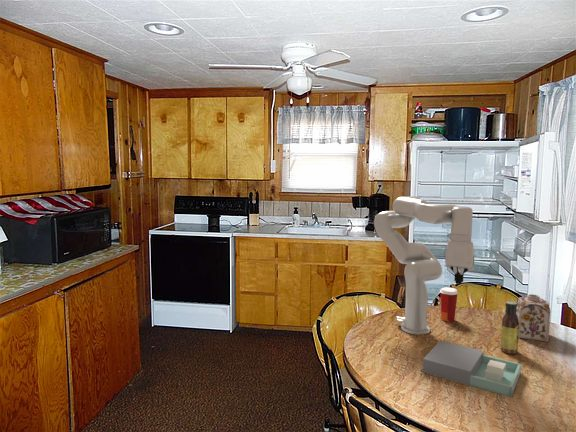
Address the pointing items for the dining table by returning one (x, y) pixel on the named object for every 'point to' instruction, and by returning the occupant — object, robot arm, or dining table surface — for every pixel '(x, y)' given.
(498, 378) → the tile
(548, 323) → the decorative jar
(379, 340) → the dining table surface
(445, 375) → the slate block
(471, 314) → the dining table surface
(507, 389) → the box
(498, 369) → the tile
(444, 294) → the coffee cup
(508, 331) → the sauce bottle
